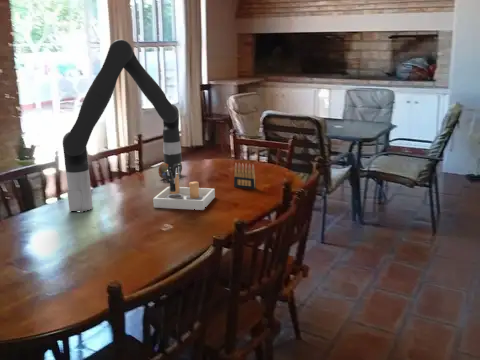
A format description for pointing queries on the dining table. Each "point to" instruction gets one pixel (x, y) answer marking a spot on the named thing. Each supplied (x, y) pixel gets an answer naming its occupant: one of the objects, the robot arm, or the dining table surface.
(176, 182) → the tan rounded sausage
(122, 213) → the dining table surface
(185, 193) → the housing
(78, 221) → the dining table surface
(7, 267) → the dining table surface
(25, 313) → the dining table surface
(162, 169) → the tin
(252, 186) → the ammunition clip
